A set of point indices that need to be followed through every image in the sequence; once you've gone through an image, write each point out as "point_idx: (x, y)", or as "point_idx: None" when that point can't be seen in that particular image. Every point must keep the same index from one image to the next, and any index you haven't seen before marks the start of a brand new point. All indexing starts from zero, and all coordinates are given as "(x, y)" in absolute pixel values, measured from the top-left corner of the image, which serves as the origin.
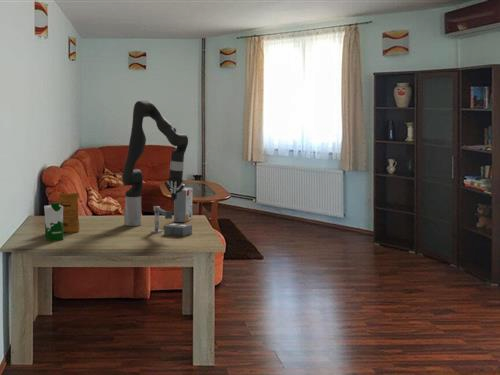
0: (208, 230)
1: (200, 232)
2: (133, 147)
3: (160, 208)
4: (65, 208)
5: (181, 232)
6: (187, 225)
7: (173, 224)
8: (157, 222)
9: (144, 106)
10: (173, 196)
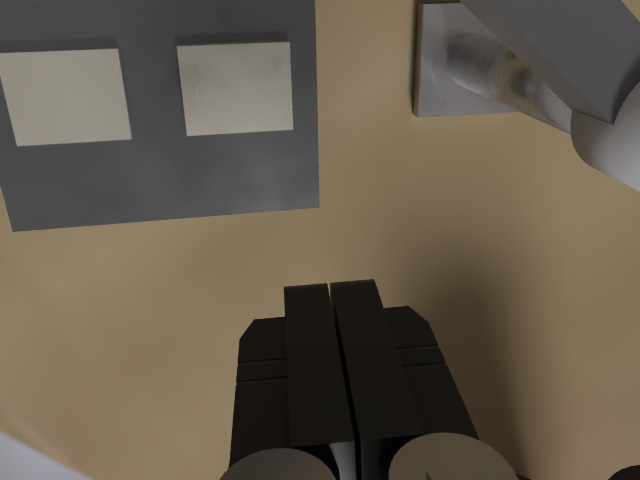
0: (31, 420)
1: (22, 300)
2: None
3: (557, 62)
4: None
5: None
6: (35, 163)
7: (235, 85)
8: (501, 58)
9: None
10: (318, 347)
